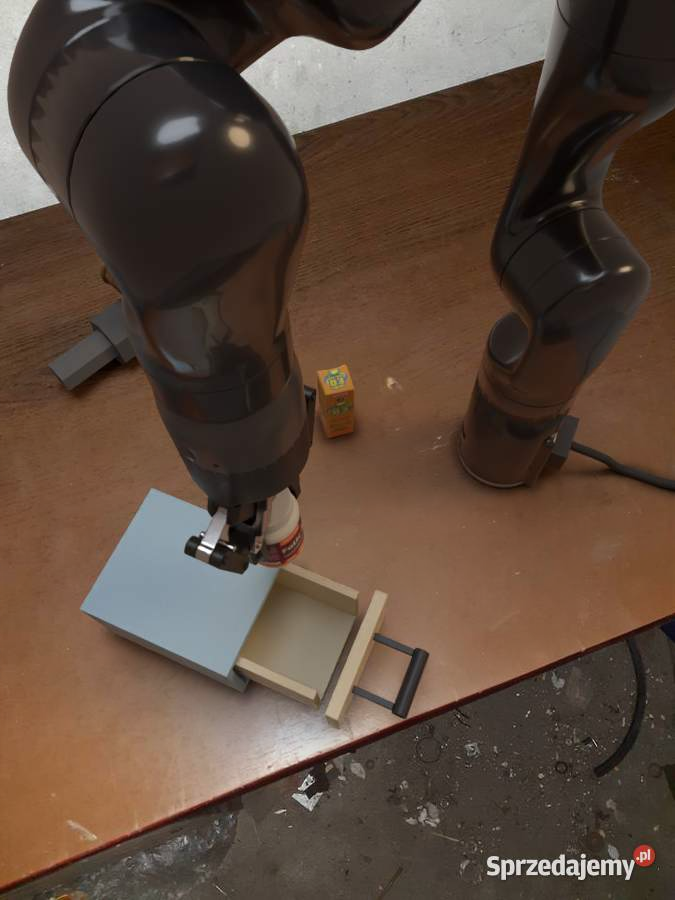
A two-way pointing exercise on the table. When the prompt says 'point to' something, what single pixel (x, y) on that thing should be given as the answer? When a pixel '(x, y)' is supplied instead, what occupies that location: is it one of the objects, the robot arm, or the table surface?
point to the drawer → (320, 644)
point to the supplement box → (336, 400)
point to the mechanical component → (96, 344)
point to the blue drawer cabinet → (178, 592)
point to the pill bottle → (284, 531)
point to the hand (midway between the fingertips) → (271, 521)
